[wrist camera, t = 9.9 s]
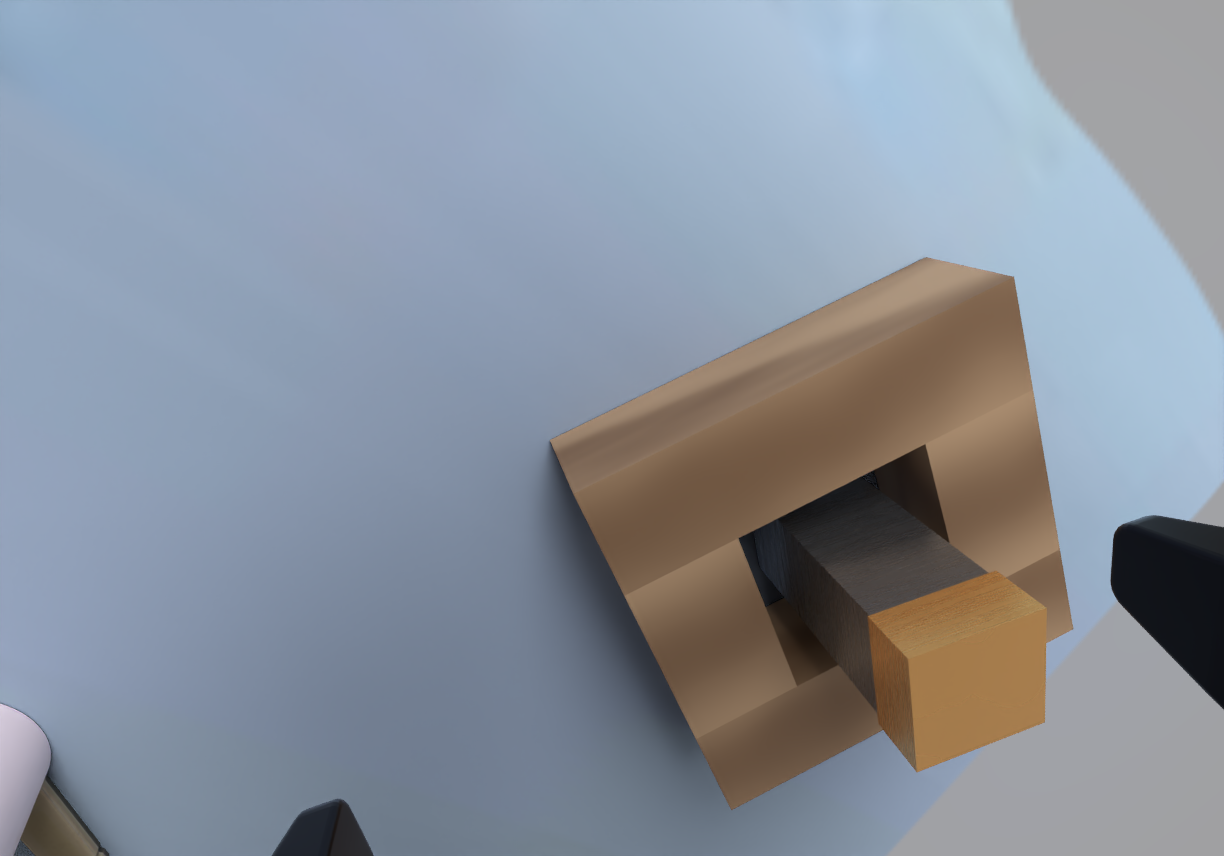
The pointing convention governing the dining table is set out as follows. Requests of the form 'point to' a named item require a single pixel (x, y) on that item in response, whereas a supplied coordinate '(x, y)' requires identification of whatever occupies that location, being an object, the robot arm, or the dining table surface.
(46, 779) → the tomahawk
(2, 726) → the smoothie
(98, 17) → the dining table surface
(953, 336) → the block
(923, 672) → the orange and grey peg
